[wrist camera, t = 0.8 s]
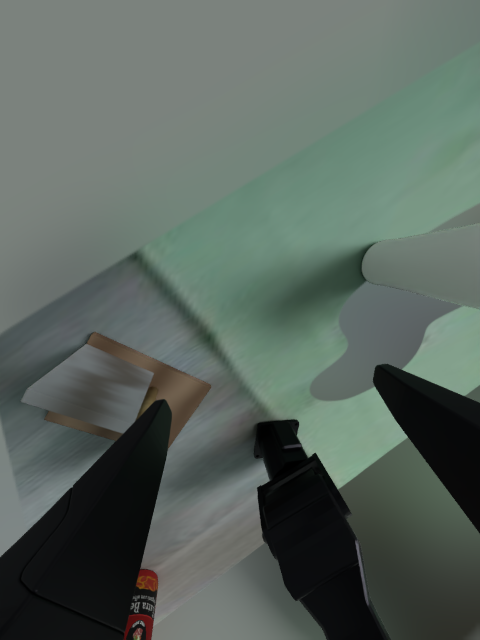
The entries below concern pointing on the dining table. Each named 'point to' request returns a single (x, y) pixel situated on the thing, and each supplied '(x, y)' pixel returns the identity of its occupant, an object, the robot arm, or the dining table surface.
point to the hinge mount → (113, 389)
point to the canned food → (142, 607)
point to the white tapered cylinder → (430, 264)
